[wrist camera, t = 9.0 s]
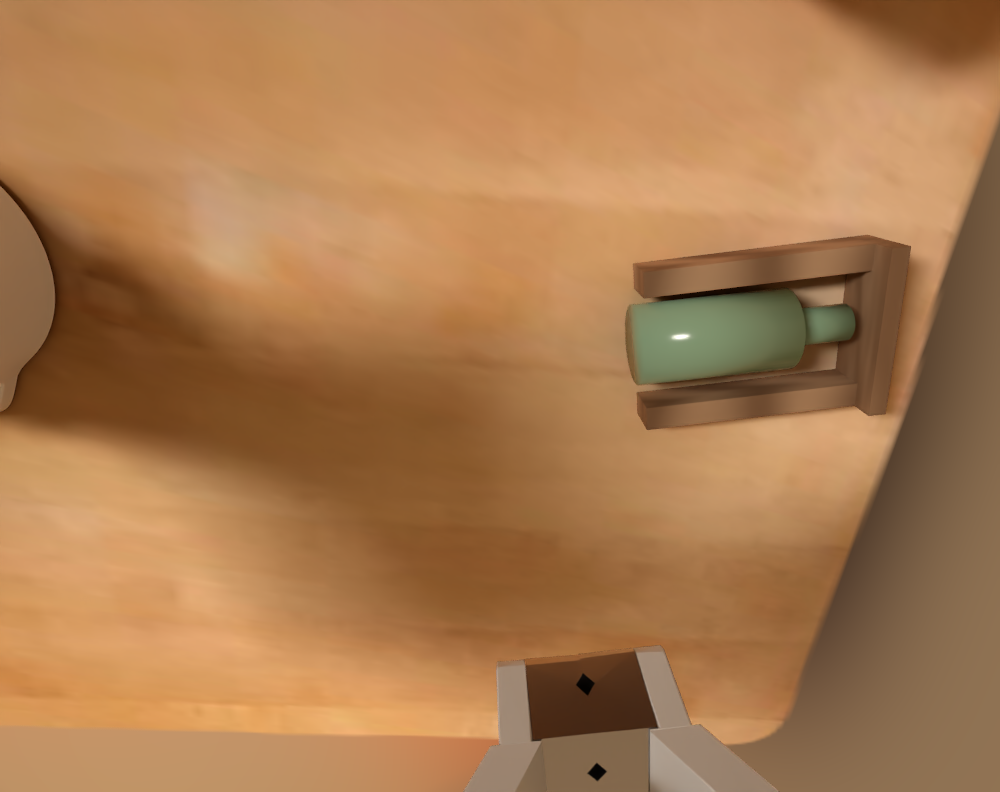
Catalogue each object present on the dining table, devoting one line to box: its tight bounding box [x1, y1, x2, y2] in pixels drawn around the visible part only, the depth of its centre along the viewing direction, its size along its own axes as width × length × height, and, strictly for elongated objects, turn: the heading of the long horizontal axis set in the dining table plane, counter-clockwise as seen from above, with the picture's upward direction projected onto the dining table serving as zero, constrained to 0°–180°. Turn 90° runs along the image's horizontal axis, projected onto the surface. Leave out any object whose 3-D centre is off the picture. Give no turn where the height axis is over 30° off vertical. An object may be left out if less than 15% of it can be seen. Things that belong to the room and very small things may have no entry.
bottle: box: [625, 288, 855, 385], centre depth 36 cm, size 5×5×12 cm
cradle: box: [633, 235, 911, 430], centre depth 36 cm, size 14×10×4 cm
